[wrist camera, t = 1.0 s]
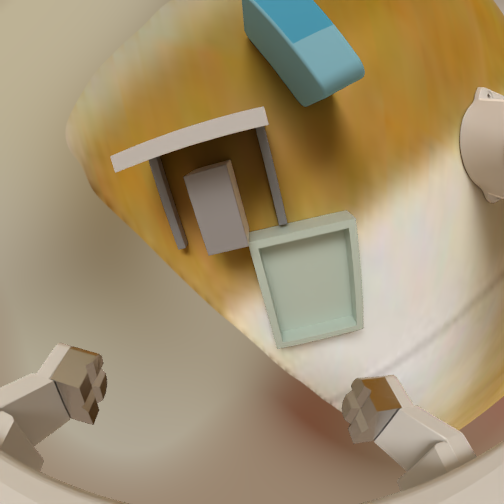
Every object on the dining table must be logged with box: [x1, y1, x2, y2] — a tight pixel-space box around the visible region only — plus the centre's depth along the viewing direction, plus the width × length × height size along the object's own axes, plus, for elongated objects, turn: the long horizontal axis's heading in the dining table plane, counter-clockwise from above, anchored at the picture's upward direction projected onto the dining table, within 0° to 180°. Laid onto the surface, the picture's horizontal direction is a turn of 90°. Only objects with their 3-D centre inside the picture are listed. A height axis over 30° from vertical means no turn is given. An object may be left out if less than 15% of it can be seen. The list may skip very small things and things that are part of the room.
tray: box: [249, 210, 364, 349], centre depth 37 cm, size 13×17×4 cm
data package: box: [242, 0, 365, 107], centre depth 22 cm, size 12×4×12 cm, turn 35°
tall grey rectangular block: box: [184, 159, 249, 255], centre depth 32 cm, size 4×9×6 cm, turn 14°
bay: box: [110, 106, 287, 249], centre depth 29 cm, size 14×13×11 cm
